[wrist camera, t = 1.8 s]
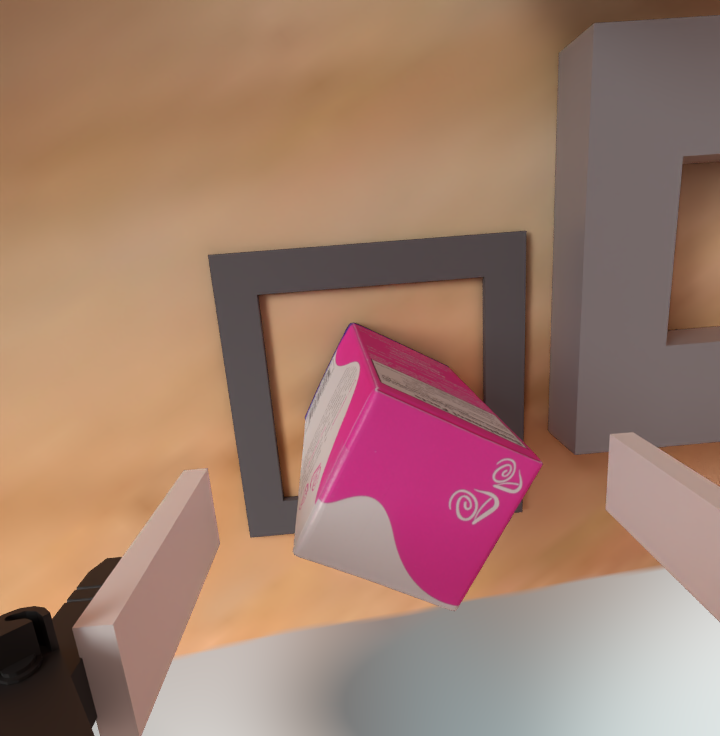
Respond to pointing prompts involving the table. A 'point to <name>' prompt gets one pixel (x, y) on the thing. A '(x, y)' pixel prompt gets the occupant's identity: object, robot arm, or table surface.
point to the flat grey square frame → (344, 270)
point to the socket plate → (630, 234)
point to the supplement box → (405, 472)
